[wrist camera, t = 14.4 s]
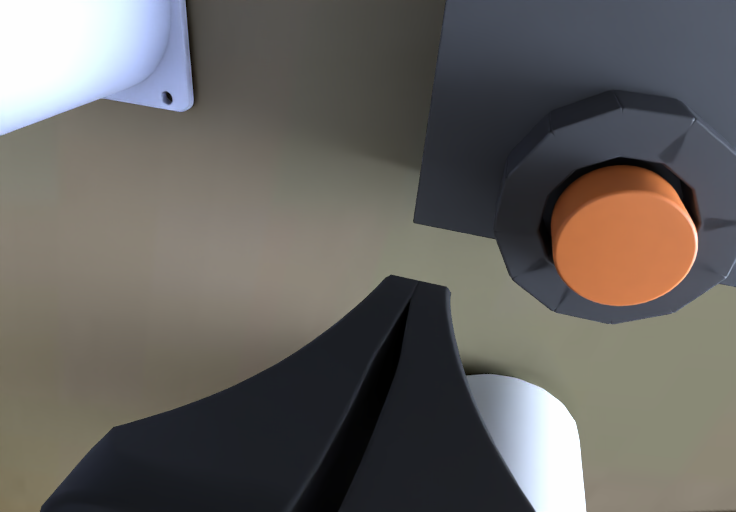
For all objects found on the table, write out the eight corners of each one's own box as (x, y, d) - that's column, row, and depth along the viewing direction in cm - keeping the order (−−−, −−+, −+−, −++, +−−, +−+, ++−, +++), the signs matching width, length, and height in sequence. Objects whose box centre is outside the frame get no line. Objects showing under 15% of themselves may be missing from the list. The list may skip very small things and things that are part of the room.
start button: (537, 258, 16) (538, 292, 14) (569, 153, 14) (573, 178, 12) (655, 282, 15) (668, 319, 14) (702, 176, 13) (723, 205, 12)
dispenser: (428, 200, 22) (397, 279, 17) (470, -61, 17) (444, -60, 12) (724, 256, 20) (788, 364, 15) (865, -20, 15) (1031, 2, 10)
